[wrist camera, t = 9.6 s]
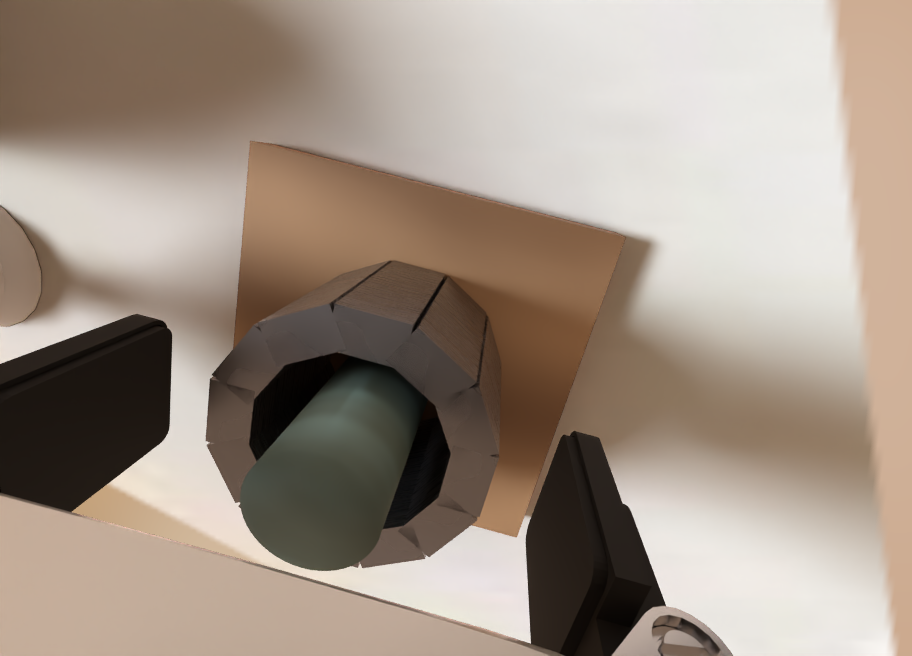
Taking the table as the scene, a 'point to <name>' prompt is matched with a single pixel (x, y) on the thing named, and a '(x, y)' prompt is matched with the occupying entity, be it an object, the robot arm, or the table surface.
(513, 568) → the table surface
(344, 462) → the post stand
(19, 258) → the chalice
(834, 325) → the table surface
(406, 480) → the ring
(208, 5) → the table surface
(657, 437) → the table surface
